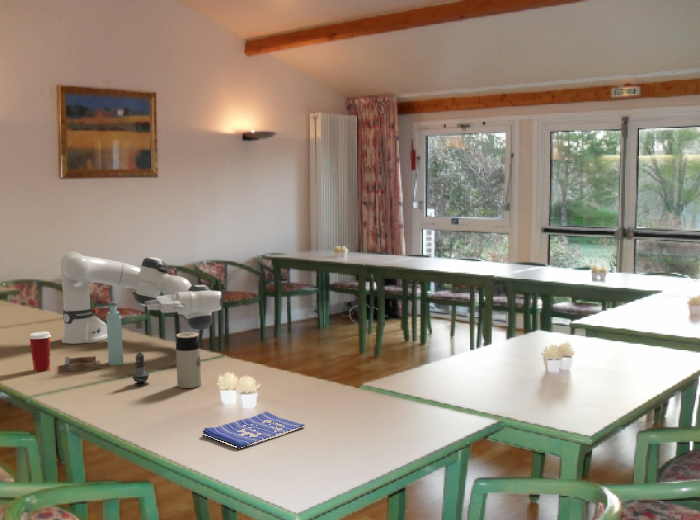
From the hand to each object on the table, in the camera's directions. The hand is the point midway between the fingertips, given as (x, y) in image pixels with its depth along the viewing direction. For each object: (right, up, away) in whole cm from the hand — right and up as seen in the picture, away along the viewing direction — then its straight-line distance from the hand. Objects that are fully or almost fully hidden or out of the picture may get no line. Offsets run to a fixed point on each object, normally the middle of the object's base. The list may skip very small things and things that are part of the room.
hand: (146, 305), depth 291 cm
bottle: (-11, -22, -1) cm, 25 cm away
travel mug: (+24, -26, -34) cm, 49 cm away
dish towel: (+52, -31, -82) cm, 102 cm away
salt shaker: (+7, -26, -32) cm, 41 cm away
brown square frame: (-23, -23, -6) cm, 33 cm away
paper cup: (-36, -24, -10) cm, 45 cm away
